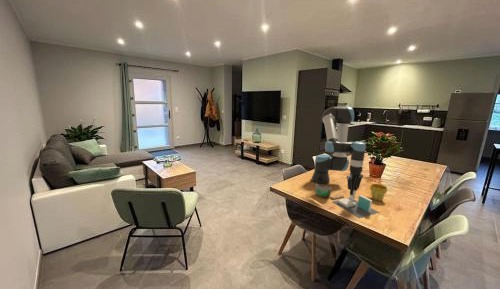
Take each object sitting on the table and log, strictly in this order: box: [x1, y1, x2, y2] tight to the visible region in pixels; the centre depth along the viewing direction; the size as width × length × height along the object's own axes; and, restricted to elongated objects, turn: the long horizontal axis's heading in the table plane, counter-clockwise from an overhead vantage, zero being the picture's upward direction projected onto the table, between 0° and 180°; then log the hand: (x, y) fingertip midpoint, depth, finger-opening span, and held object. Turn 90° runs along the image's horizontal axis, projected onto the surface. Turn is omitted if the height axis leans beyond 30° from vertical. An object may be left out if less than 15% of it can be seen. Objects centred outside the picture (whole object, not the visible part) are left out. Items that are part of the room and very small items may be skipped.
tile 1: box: [337, 197, 356, 208], centre depth 140 cm, size 8×2×8 cm
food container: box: [314, 182, 333, 199], centre depth 150 cm, size 12×6×10 cm, turn 45°
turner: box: [329, 194, 345, 201], centre depth 151 cm, size 18×6×2 cm, turn 114°
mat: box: [331, 197, 380, 219], centre depth 137 cm, size 22×18×1 cm
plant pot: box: [369, 183, 388, 202], centre depth 151 cm, size 10×10×10 cm
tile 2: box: [357, 194, 373, 213], centre depth 133 cm, size 8×2×8 cm, turn 24°
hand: (352, 198), depth 141 cm, fingers closed
